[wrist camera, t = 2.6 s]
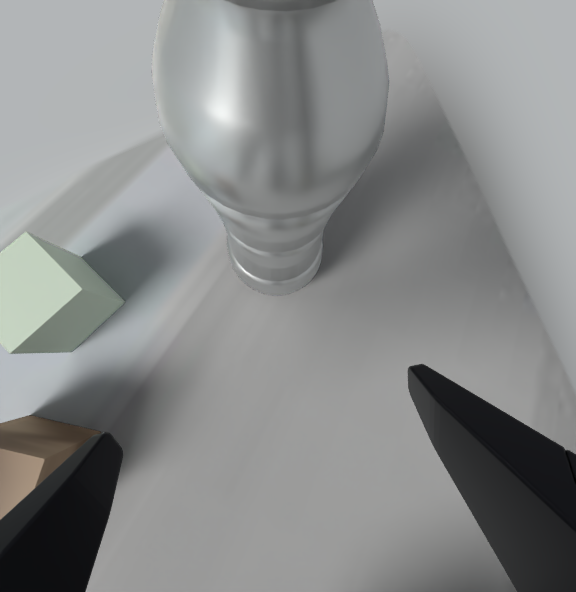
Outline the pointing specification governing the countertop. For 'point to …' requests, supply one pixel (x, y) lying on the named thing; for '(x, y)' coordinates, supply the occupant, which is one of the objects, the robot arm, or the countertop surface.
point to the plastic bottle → (272, 119)
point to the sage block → (49, 298)
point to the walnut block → (33, 454)
